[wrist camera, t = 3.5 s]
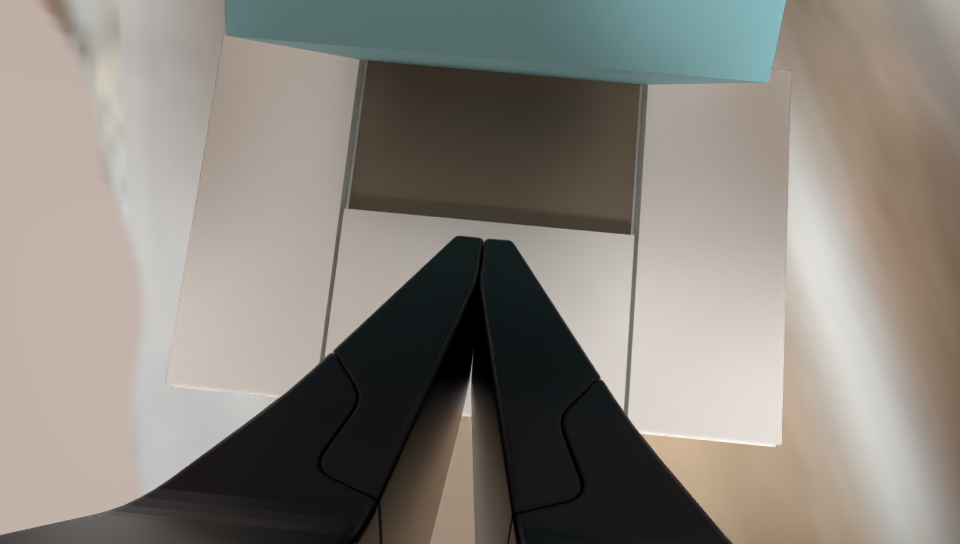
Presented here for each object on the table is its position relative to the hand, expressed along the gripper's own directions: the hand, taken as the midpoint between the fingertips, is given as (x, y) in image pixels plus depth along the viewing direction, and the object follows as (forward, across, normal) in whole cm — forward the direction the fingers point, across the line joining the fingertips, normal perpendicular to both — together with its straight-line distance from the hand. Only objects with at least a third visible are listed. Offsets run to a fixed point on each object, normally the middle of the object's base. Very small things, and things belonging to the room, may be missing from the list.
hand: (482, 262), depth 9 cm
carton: (+7, 0, +5) cm, 9 cm away
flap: (+8, 0, 0) cm, 8 cm away
